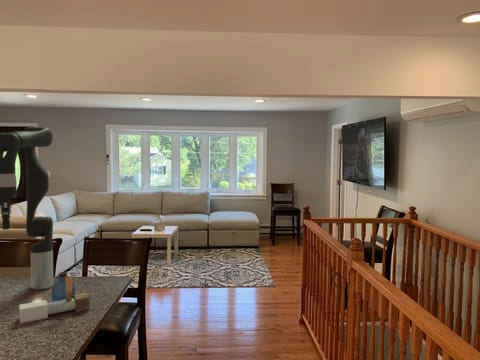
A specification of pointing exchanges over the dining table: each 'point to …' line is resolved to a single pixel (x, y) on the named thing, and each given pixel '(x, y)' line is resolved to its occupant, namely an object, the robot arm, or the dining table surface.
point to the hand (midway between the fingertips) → (6, 227)
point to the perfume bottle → (61, 288)
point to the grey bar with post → (63, 304)
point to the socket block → (82, 302)
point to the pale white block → (33, 311)
